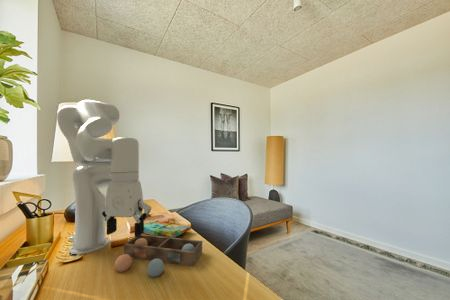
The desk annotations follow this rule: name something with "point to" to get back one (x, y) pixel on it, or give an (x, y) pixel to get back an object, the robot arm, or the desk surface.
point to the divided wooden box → (164, 250)
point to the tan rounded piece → (141, 242)
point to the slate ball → (155, 267)
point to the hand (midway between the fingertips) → (125, 233)
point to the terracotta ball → (123, 262)
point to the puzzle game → (165, 228)
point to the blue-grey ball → (188, 247)
